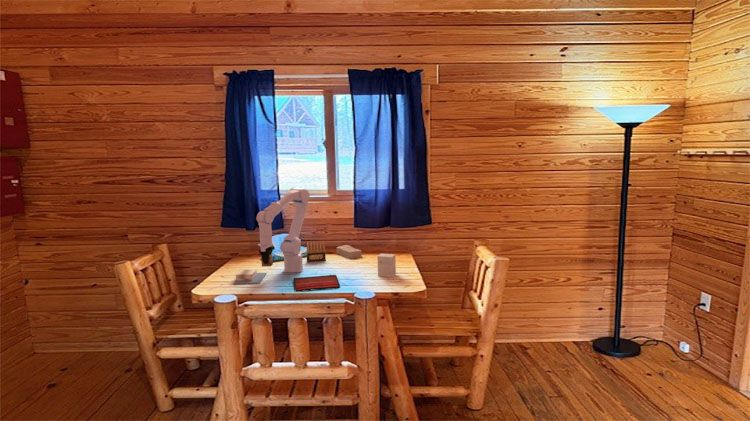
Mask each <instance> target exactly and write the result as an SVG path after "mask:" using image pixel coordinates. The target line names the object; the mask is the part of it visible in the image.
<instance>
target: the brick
mask: <svg viewBox="0 0 750 421" xmlns="http://www.w3.org/2000/svg"><path fill="white" fill-rule="evenodd" d="M336 254H337V255H339V254H340V255H339V256H341V255H342V257H344V256H345V257H344V258H347V259H349V260H352V259H353V260H354V259H358V258H362V255H363V253H362V250H361V249H359V248H358V249H357V248H355V247H353V246H351V245H349V244H348V245H347V244H345V245H341V246H340V245H339V246H337V247H336Z"/></svg>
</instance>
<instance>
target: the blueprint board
mask: <svg viewBox="0 0 750 421" xmlns="http://www.w3.org/2000/svg"><path fill="white" fill-rule="evenodd" d="M267 273H268V272H257V269H240V270H239V271H238V272H237V273H236V274H235V281H234V282H233V283H232V284H233V285H260V283H261V281H262V280H264V278H265V276H267Z"/></svg>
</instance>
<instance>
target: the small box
mask: <svg viewBox="0 0 750 421" xmlns="http://www.w3.org/2000/svg"><path fill="white" fill-rule="evenodd" d="M396 266H397V264H396V254H392V253H379V254H378V255H377V276H378V277H383V278H394V277H395V275H396V272H397V269H396V268H397V267H396Z"/></svg>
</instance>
